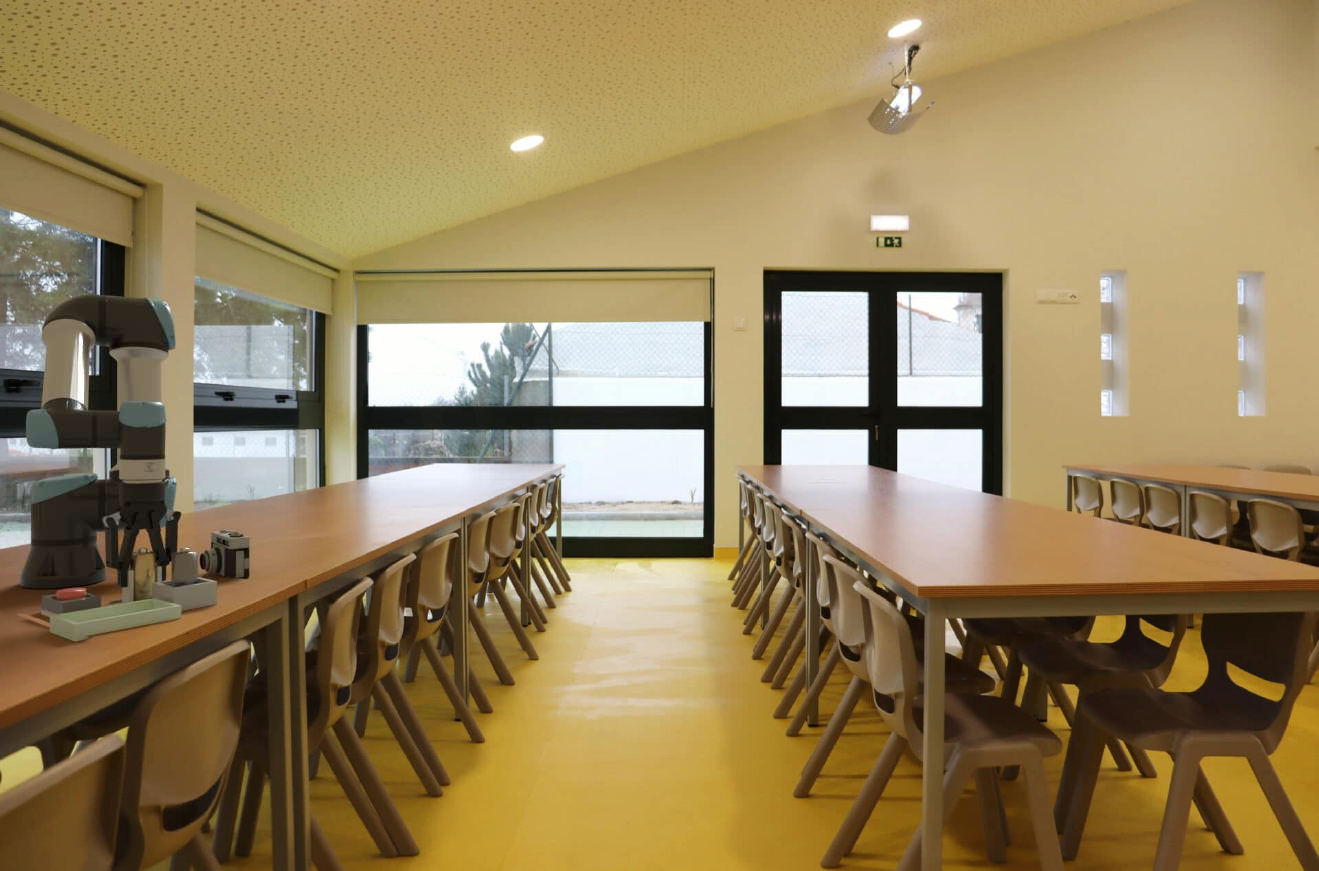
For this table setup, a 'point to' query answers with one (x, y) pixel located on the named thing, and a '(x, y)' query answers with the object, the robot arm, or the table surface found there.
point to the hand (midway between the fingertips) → (142, 600)
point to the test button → (70, 593)
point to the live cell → (143, 573)
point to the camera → (227, 555)
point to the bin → (187, 593)
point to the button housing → (68, 604)
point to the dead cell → (184, 568)
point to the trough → (112, 618)
